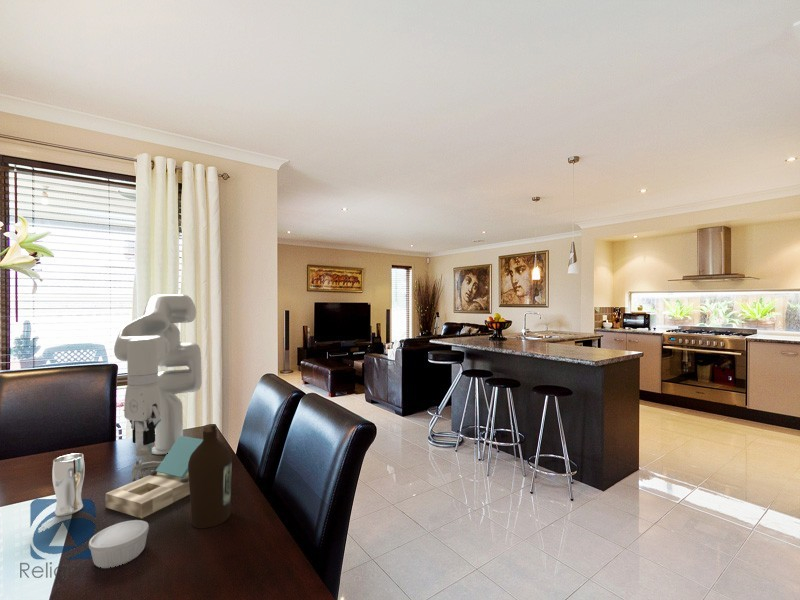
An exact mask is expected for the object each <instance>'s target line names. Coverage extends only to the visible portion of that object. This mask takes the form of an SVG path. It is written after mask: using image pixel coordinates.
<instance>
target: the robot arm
mask: <svg viewBox="0 0 800 600" xmlns="http://www.w3.org/2000/svg"><path fill="white" fill-rule="evenodd" d="M196 308H197V307H196V304H195V303H194V301H193V299H192V298H191V297H190V296H189V295H186V294H181V293H180V294H175V293H174V294H156V295H153V296H150V298H149V299H148V300H147V303H146V305H145V306H144V311H143V314H142V316H141V317H138V318H137V319H134V320H132V321H131V322H128V323H127V324H126V325H124V326H123V327H122V328H121V329H120V331H119V333H118V335H117V337H116V341H115V344H114V347H113V348H114V349H113V350H114V351H113V353H114V356H115V357H116V359H117V360H118V361H121V362H126V364H127V386H126V389H125V394H124V406H123V407H124V410H123V411H124V412H123V413H124V416H123V417H124V419H126V420H128V421H129V423H130V425H131V426H130V427H131V429H132V431H131V433H132V443H133V444H135V421H141V422H144V429H145V431H143V445H147V444H150V443H152V444H154V446H152V452H151V453H150V454H153V455H167V453H168V452H169V451H170V449H171V448H172V446H173V445H174V443H175V442H176V440H177V439H178V437H179V436H184V426H183V425H184V423H183V422H184V421H183V420H184V417H183V416H184V415H183V414H184V413H183V403H182V401H181V399H180V398H179V397H178V396H177V395H179V394H185V393H194V392H195V393H196V392H198V391H200V390H201V388H202V387H201V386H202V376H203V375H202V352H201V347H200V345H199V344H198V343H196V342H181V332H180V329H179V327H178V326H177V325H176V324H184V323H185V324H186V323H193V322H194V320H195V319H196V315H197V309H196ZM159 367H160V368H176V367H177V368H180V367H187V368H188V369H187V368H186V369H171V370H170V369H169V370H163V371H159ZM150 417H151V418H150ZM149 418H150V419H149ZM148 421H151V422H150V423H149V425H148Z"/></svg>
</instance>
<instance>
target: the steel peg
mask: <svg viewBox="0 0 800 600" xmlns="http://www.w3.org/2000/svg"><path fill="white" fill-rule="evenodd" d="M150 418H151V417H150ZM150 418H149V419H150ZM150 422H151V421H148V425H149V423H150ZM143 431H145V429H144V422H141V421H135V443H134V444H135V456H137V457H141V456H148V455H150V454H152V453H151V452H152V448H153V443H150V444H147V445H143Z"/></svg>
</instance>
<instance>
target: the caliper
mask: <svg viewBox="0 0 800 600" xmlns="http://www.w3.org/2000/svg"><path fill="white" fill-rule="evenodd" d="M162 461H163V460H162ZM162 461H161V460H160V461H156V460H153V461H147V462H143V460H141V459H140V460H139V461H138V460H136V462H135V464H133V467H132V469H131V479H132V480H133V481H136V478H137V479H138V480H139V479H141V478H143V475H144V474H145V471H151V470H154V471H156V470H157V468H158V467H159V465H160V464H161V462H162ZM137 474H138V477H137Z"/></svg>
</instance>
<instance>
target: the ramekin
mask: <svg viewBox="0 0 800 600" xmlns="http://www.w3.org/2000/svg"><path fill="white" fill-rule="evenodd" d="M149 529H150V526H149V523H148V522H147V521H145V520H140V519H134V520H133V519H132V520H126V521H122V522H118V523H114V524H113V525H110V526H108V527H106V528H104V529H102V530H99V531H98V532H97V533H95V534H94V535H93V536H92V537H91V538H90V539H89V541H88V548H89V550H90V553H91V557H92V561H93V564H94V566H96V567H98V568H100V567H101V568H100V569H111V568H116V567H119V565H120V566H122V564H123V565H125V564H127V563H128V562H131V561H133V560H134V559H136V558H137V557H138V556H139V555H141V553H142V552H143V551H144V549H145V547H146V543H147V536H148V533H149V531H150V530H149ZM115 566H116V567H115ZM110 567H111V568H110Z"/></svg>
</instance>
